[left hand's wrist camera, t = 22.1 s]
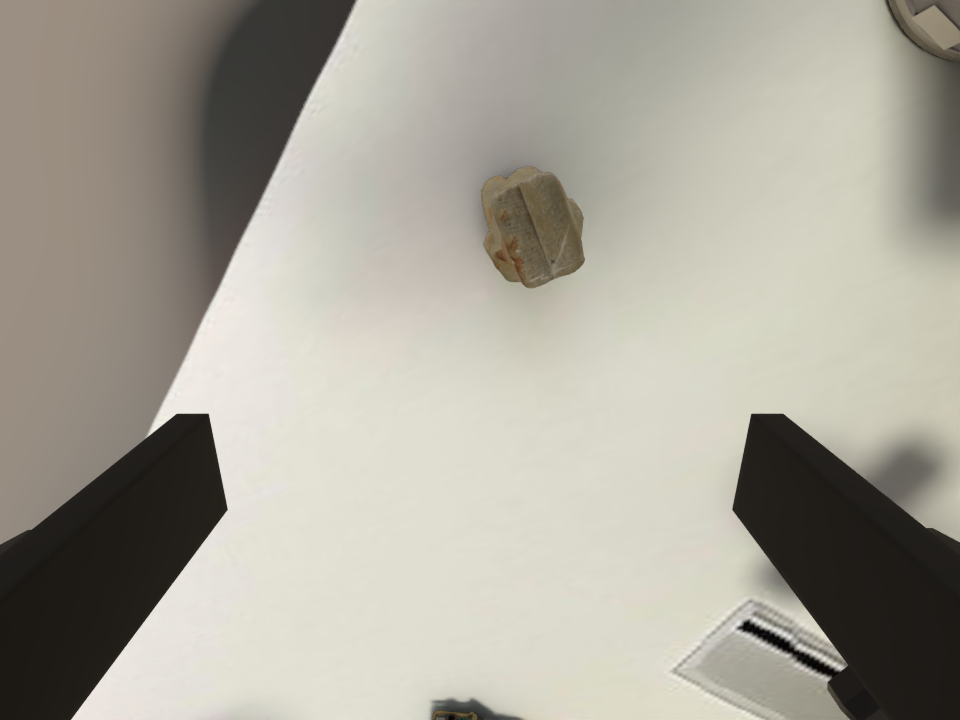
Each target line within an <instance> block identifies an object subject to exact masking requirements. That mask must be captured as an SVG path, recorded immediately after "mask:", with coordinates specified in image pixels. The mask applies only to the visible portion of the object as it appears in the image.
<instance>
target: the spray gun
mask: <svg viewBox="0 0 960 720" xmlns="http://www.w3.org/2000/svg"><path fill="white" fill-rule="evenodd" d="M437 715H445V716H446V718H442V717H438V718H436V719H435V716H437ZM460 717H463V718H461V720H466V719H465V718H470V717H472V719H470V720H482V719H481V718H479V717H478V716H477V715H476V714H475V713H474V712H470V713H468V714H465V713H457V712H448V711H440V710H439V711H436V712H434V714H433V716H432V720H459V719H460Z"/></svg>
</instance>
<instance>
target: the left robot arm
mask: <svg viewBox="0 0 960 720" xmlns="http://www.w3.org/2000/svg"><path fill="white" fill-rule="evenodd" d="M888 1H889V4H890V7H891V9H892V12H893V14H894V16H895V18H896V20H897V21H898V23H899V25H900V26H901V28H902V29H903V30H904V32H905V33H906V34H907V35H908V36H909V37H910V38H911V39H912V40H913V41H914V42H915V43H916V44H917V45H919V46H920V47H921V48H922V49H924V50H926V51H928V52H929V53H931V54H933V55H936V56H938V57H941V58H944V59H948V60H952V61H959V62H960V0H888ZM227 510H228V509H227V504H226V499H225V494H224V489H223V484H222V479H221V474H220V469H219V464H218V458H217V453H216V448H215V443H214V438H213V433H212V428H211V423H210V418H209V414H176V415H175V416H174V417H172V418H171V419H170V420H169V421H167V422H166V423H165V424H164V425H162V426H161V427H160V428H159V429H157V430H156V431H155V432H154V433H152V434H151V435H150V436H149V437H147V438H146V439H145V440H144V441H142V442H141V443H140V444H139V445H137V446H136V447H135V448H134V449H132V450H131V451H130V452H129V453H127V454H126V455H125V456H124V457H122V458H121V459H120V460H119V461H117V462H116V463H115V464H114V465H112V466H111V467H110V468H109V469H107V470H106V471H105V472H104V473H102V474H101V475H100V476H99V477H97V478H96V479H95V480H94V481H92V482H91V483H90V484H89V485H87V486H86V487H85V488H83V489H82V490H81V491H80V492H79V493H77V494H76V495H75V496H73V497H72V498H71V499H70V500H69V501H67V502H66V503H65V504H63V505H62V506H61V507H60V508H58V509H57V510H56V511H55V512H53V513H52V514H51V515H50V516H48V517H47V518H46V519H45V520H43V521H42V522H41V523H40V524H38V525H37V526H36V527H35V528H33V529H32V530H27V531H25V532H23V533H21V534H20V535H18V536H16V537H14V538H12V539H10V540H8V541H6V542H5V543H3V544H1V545H0V720H71V719H72V718H73V716H74V715H75V714H76V712H77V711H78V709H79V708H80V707H81V705H82V704H83V703H84V701H85V700H86V699H87V697H88V696H89V695H90V693H91V692H92V691H93V689H94V688H95V687H96V685H97V684H98V683H99V681H100V680H101V679H102V677H103V676H104V675H105V673H106V672H107V671H108V669H109V668H110V667H111V665H112V664H113V663H114V661H115V660H116V659H117V657H118V656H119V655H120V653H121V652H122V651H123V649H124V648H125V647H126V645H127V644H128V642H129V641H130V640H131V638H132V637H133V636H134V634H135V633H136V632H137V630H138V629H139V628H140V626H141V625H142V624H143V622H144V621H145V620H146V618H147V617H148V616H149V614H150V613H151V612H152V610H153V609H154V608H155V606H156V605H157V604H158V602H159V601H160V600H161V598H162V597H163V596H164V594H165V593H166V592H167V590H168V589H169V588H170V586H171V585H172V584H173V582H174V581H175V580H176V578H177V577H178V576H179V574H180V573H181V571H182V570H183V569H184V567H185V566H186V565H187V563H188V562H189V561H190V559H191V558H192V557H193V555H194V554H195V553H196V551H197V550H198V549H199V547H200V546H201V545H202V543H203V542H204V541H205V539H206V538H207V537H208V535H209V534H210V533H211V531H212V530H213V529H214V527H215V526H216V525H217V523H218V522H219V521H220V519H221V518H222V517H223V515H224V514H225V513H226V511H227ZM732 510H733V511H734V513H735V514H736V515H737V517H738V518H739V519H740V521H741V522H742V523H743V525H744V526H745V527H746V529H747V530H748V531H749V533H750V534H751V535H752V537H753V538H754V539H755V541H756V542H757V543H758V545H759V546H760V547H761V549H762V550H763V551H764V553H765V554H766V555H767V557H768V558H769V559H770V561H771V562H772V563H773V565H774V566H775V567H776V569H777V570H778V571H779V573H780V574H781V576H782V577H783V578H784V580H785V581H786V582H787V584H788V585H789V586H790V588H791V589H792V590H793V592H794V593H795V594H796V596H797V597H798V598H799V600H800V601H801V602H802V604H803V605H804V606H805V608H806V609H807V610H808V612H809V613H810V614H811V616H812V617H813V618H814V620H815V621H816V622H817V624H818V625H819V626H820V628H821V629H822V630H823V632H824V633H825V634H826V636H827V637H828V638H829V640H830V641H831V642H832V644H833V645H834V647H835V648H836V649H837V651H838V652H839V653H840V655H841V656H842V657H843V659H844V660H845V661H846V663H847V664H848V665H849V667H850V668H851V669H852V671H853V672H854V673H855V675H856V676H857V677H858V679H859V680H860V681H861V683H862V684H863V685H864V687H865V688H866V689H867V691H868V692H869V693H870V695H871V696H872V697H873V699H874V700H875V701H876V703H877V704H878V705H879V707H880V708H881V709H882V711H883V712H884V714H885V715H886V716H887V718H888V719H889V720H960V542H958V541H956V540H954V539H952V538H950V537H948V536H947V535H945V534H943V533H941V532H939V531H937V530H935V529H933V528H925V527H924V526H923V525H922V524H920V523H919V522H918V521H917V520H915V519H914V518H913V517H912V516H910V515H909V514H908V513H907V512H905V511H904V510H903V509H902V508H900V507H899V506H898V505H897V504H895V503H894V502H893V501H892V500H890V499H889V498H888V497H887V496H885V495H884V494H883V493H882V492H880V491H879V490H878V489H877V488H875V487H874V486H873V485H871V484H870V483H869V482H868V481H866V480H865V479H864V478H863V477H861V476H860V475H859V474H858V473H856V472H855V471H854V470H853V469H851V468H850V467H849V466H848V465H846V464H845V463H844V462H843V461H841V460H840V459H839V458H838V457H836V456H835V455H834V454H833V453H831V452H830V451H829V450H828V449H826V448H825V447H824V446H823V445H821V444H820V443H819V442H818V441H816V440H815V439H814V438H813V437H811V436H810V435H809V434H808V433H806V432H805V431H804V430H803V429H801V428H800V427H799V426H798V425H796V424H795V423H794V422H793V421H791V420H790V419H789V418H788V417H786V416H785V415H784V414H751V418H750V423H749V428H748V433H747V438H746V443H745V448H744V453H743V458H742V463H741V469H740V474H739V479H738V484H737V489H736V494H735V499H734V504H733V509H732Z"/></svg>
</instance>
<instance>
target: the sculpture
mask: <svg viewBox="0 0 960 720" xmlns="http://www.w3.org/2000/svg"><path fill="white" fill-rule="evenodd" d="M481 197H482V204H483V209H484V213H485V217H486V220H487V224H488V227H489V230H490V231H489V233H488V234H487V235H486V238H485V240H484V247H485V250H486V251H487V253H488V255H489V256H490V258H491V259H492V261H493V263H494V265H495V267H496V268H497V269H498V270H499V271H500V272H501V274H502V275H503V276H504V278H505V279H506V280H508V281H510V282H522V283H523V285H524V286H525V287H527V288H535V287H538V286H541V285H543V284H545V283H547V282H549V281H551V280H553V279H555V278H558V277H561V276H565V275H569V274H571V273H573V272H575V271H576V270H577V269H579V268H580V267H581V266H582V265H583V263H584V261H585V258H584V255H583V248H582V241H581V235H582V227H583V216H582V212H581V210H580V208H579V207H578V205H577V204H576V203H575V202H574V201H573V200H572V199H567V196H566V193H565V191H564V189H563V186H562V185H561V183H560V182H559V180H558V179H557V178H556V177H555V175H554V174H552V173H549V172H545V173H541V172H540V171H539V170H538V169H537V168H535V167H524V168H519V169H517V170H516V171H514V172H513V174H511V175H510V176H509V177H508V178H507V180H506V179H505V178H503V177H501V176H496V177H493V178H491V179H489V180H488V181H487V182H486V183H485V184H484V186H483V188H482V193H481Z"/></svg>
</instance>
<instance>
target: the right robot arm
mask: <svg viewBox="0 0 960 720" xmlns="http://www.w3.org/2000/svg"><path fill="white" fill-rule="evenodd" d="M827 690H828V691H829V693H830V694H831V696H832V697H833V699H834V700H835V702H836V703H837V705H838V706H839V708H840V709H841V711H842V712H843V713H844V714H845V715H846V716H847V717H848V718H849V719H850V720H889V719H888V718H887V716H886V715H885V714H884V712H883V711H882V709H881V708H880V707H879V705H878V704H877V703H876V701H875V700H874V699H873V697H872V696H871V695H870V693H869V692H868V691H867V689H866V688H865V687H864V685H863V684H862V683H861V681H860V680H859V679H858V677H857V676H856V675H855V673H854V672H853V671H852V669H851V668H850V667H849V665H848V666H847V667H846V668H845V669H843V670H842V671H841V672H840V673H838V674H837V675H836V676H835V677H833V678H832V679H831V680H830V681H828V687H827Z"/></svg>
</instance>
